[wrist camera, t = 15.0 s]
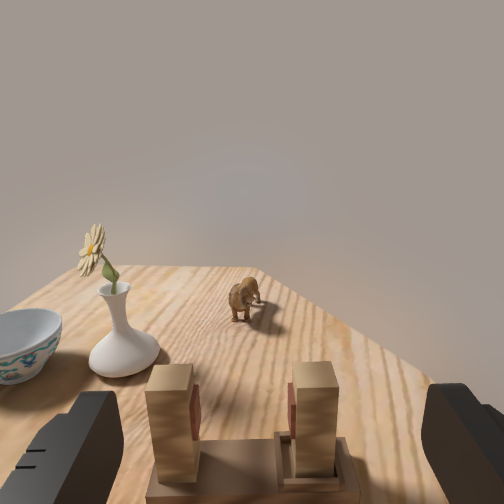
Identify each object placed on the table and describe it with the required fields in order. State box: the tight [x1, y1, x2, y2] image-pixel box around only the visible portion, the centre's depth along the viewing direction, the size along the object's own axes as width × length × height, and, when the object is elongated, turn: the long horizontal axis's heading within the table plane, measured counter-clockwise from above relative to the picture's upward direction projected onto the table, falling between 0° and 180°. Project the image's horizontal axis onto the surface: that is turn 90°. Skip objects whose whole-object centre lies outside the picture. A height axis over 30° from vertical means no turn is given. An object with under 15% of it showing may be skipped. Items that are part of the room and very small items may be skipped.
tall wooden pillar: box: [288, 361, 339, 478], centre depth 41 cm, size 4×4×12 cm
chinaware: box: [0, 308, 62, 385], centre depth 62 cm, size 15×15×8 cm
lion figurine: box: [229, 277, 260, 322], centre depth 78 cm, size 15×5×9 cm, turn 173°
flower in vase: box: [77, 224, 160, 378], centre depth 60 cm, size 13×11×25 cm
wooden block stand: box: [145, 364, 361, 504], centre depth 41 cm, size 22×7×14 cm, turn 90°
